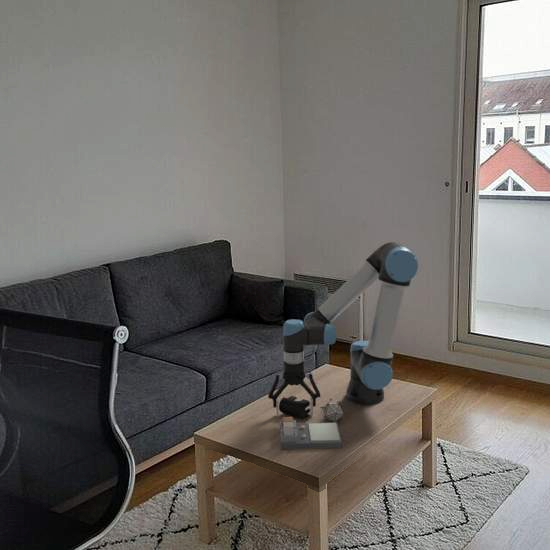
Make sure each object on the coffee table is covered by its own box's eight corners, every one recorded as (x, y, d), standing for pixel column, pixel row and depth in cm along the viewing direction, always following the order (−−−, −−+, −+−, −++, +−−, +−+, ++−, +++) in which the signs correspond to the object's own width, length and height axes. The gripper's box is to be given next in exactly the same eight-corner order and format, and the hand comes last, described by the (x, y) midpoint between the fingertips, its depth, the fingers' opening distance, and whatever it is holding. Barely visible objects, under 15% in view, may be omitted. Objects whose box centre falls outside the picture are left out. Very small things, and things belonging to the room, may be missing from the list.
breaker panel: (337, 427, 242) (337, 417, 241) (341, 447, 227) (341, 436, 226) (279, 429, 242) (279, 418, 241) (280, 449, 227) (280, 438, 226)
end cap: (278, 416, 253) (278, 399, 251) (290, 409, 258) (289, 393, 256) (300, 423, 246) (299, 406, 245) (311, 416, 252) (310, 399, 250)
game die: (338, 429, 248) (354, 411, 245) (323, 428, 243) (339, 410, 239) (326, 411, 254) (342, 393, 250) (312, 410, 248) (327, 392, 245)
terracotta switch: (292, 425, 239) (292, 416, 238) (293, 430, 236) (293, 421, 235) (283, 426, 239) (282, 417, 238) (283, 430, 236) (283, 421, 235)
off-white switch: (293, 431, 232) (293, 421, 231) (293, 435, 228) (293, 426, 228) (283, 431, 232) (283, 422, 231) (283, 436, 228) (283, 426, 228)
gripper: (260, 365, 243) (262, 419, 248) (327, 363, 244) (327, 418, 248) (261, 358, 251) (262, 411, 256) (325, 356, 251) (326, 409, 256)
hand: (294, 414), depth 252 cm, fingers open, 12 cm apart
